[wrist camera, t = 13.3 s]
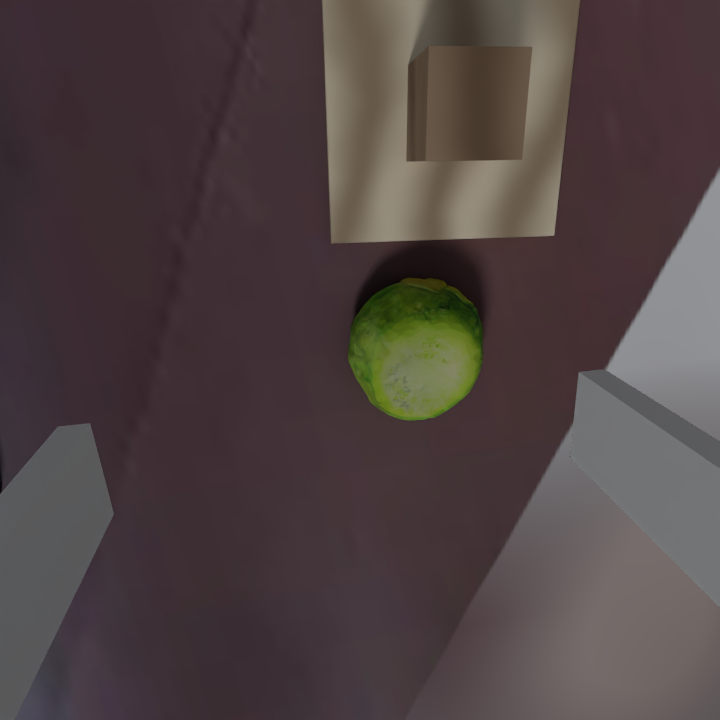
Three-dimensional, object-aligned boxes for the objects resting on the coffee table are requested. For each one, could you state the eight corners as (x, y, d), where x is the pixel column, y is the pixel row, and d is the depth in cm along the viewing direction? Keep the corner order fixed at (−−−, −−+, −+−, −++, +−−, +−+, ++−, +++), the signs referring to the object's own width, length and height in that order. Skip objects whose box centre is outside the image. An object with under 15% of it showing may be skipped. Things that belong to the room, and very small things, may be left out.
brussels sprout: (353, 271, 40) (360, 286, 36) (487, 281, 42) (510, 296, 37) (341, 404, 44) (345, 433, 40) (463, 409, 46) (482, 437, 41)
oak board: (330, 241, 39) (331, 243, 38) (320, -30, 33) (321, -37, 32) (547, 233, 41) (554, 235, 40) (574, -26, 35) (583, -32, 34)
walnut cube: (406, 161, 37) (425, 160, 31) (407, 65, 35) (428, 45, 29) (488, 160, 37) (522, 159, 32) (495, 65, 35) (532, 46, 30)
